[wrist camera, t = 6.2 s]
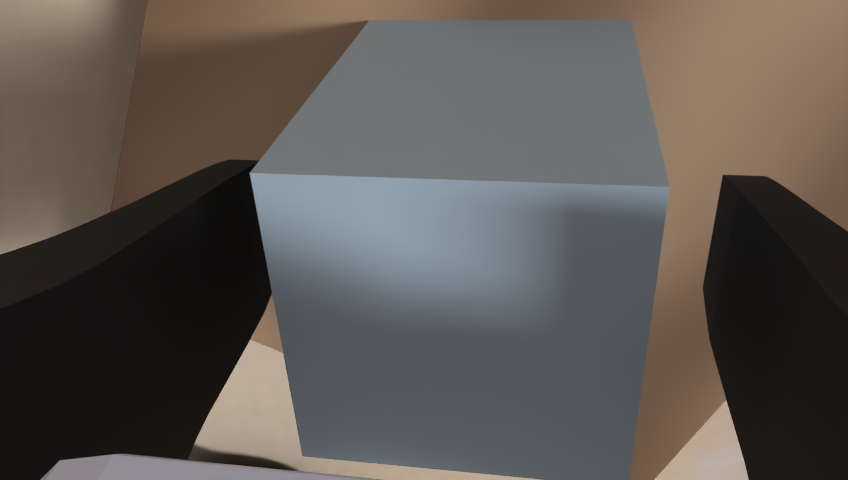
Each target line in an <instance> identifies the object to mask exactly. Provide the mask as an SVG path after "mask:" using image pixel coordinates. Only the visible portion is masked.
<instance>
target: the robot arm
mask: <svg viewBox="0 0 848 480" xmlns="http://www.w3.org/2000/svg"><path fill="white" fill-rule="evenodd" d="M258 162H259V160H231V159H229V160H225V161H222V162H219V163H216V164H213V165H211V166H209V167H206V168H204V169H202V170H199V171H197V172H195V173H193V174H191V175H188V176H186V177H184V178H182V179H180V180H178V181H176V182H174V183H172V184H170V185H168V186H165V187H163V188H161V189H159V190H157V191H155V192H153V193H151V194H149V195H147V196H145V197H143V198H141V199H139V200H137V201H134V202H132V203H130V204H128V205H126V206H124V207H121V208H119V209H117V210H115V211H112V212H110V213H108V214H106V215H103V216H101V217H99V218H97V219H94V220H92V221H90V222H87V223H85V224H83V225H81V226H78V227H76V228H74V229H71V230H69V231H66V232H64V233H61V234H58V235H56V236H53V237H51V238H48V239H45V240H42V241H40V242H37V243H34V244H31V245H28V246H25V247H22V248H19V249H16V250H14V251H10V252H7V253H4V254H1V255H0V480H380V479H371V478H361V477H351V476H341V475H331V474H321V473H311V472H301V471H291V470H281V469H271V468H261V467H251V466H241V465H231V464H221V463H211V462H201V461H191V460H188V458H189V455H190V453H191V450H192V448H193V446H194V443H195V441H196V438H197V436H198V434H199V432H200V430H201V428H202V426H203V424H204V422H205V420H206V418H207V416H208V414H209V412H210V410H211V408H212V407H213V405H214V403H215V401H216V400H217V398H218V396H219V394H220V392H221V391H222V389H223V387H224V385H225V383H226V382H227V380H228V378H229V376H230V375H231V373H232V371H233V369H234V367H235V366H236V364H237V362H238V360H239V358H240V357H241V355H242V353H243V351H244V350H245V348H246V346H247V344H248V342H249V340H250V339H251V337H252V335H253V333H254V331H255V329H256V328H257V326H258V324H259V322H260V320H261V318H262V316H263V314H264V313H265V310H266V308H267V305H268V302H269V300H270V297H271V295H272V290H271V284H270V279H269V274H268V268H267V263H266V258H265V252H264V247H263V242H262V236H261V231H260V225H259V220H258V215H257V209H256V204H255V199H254V193H253V188H252V183H251V177H250V172H251V171H252V169H253V168H254V167H255V166H256V164H257V163H258ZM703 294H704V303H705V311H706V319H707V326H708V333H709V340H710V344H711V348H712V351H713V355H714V359H715V362H716V366H717V369H718V373H719V376H720V380H721V383H722V386H723V390H724V393H725V397H726V400H727V403H728V407H729V410H730V414H731V417H732V420H733V424H734V427H735V431H736V434H737V437H738V441H739V444H740V447H741V451H742V454H743V458H744V461H745V465H746V469H747V474H748V478H749V480H848V231H846V230H845V229H843V228H842V227H841V226H839V225H838V224H836V223H835V222H833V221H832V220H830V219H829V218H828V217H826V216H825V215H823V214H822V213H821V212H819V211H818V210H816V209H815V208H814V207H812V206H811V205H809V204H808V203H807V202H805V201H804V200H802V199H801V198H800V197H798V196H797V195H795V194H794V193H792V192H791V191H790V190H788V189H787V188H785V187H784V186H782V185H781V184H779V183H778V182H776V181H774V180H773V179H771V178H769V177H767V176H748V175H723V176H722V182H721V188H720V193H719V199H718V204H717V210H716V216H715V221H714V227H713V232H712V238H711V244H710V249H709V255H708V260H707V266H706V272H705V277H704V283H703Z"/></svg>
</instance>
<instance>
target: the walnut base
mask: <svg viewBox="0 0 848 480" xmlns="http://www.w3.org/2000/svg"><path fill="white" fill-rule="evenodd" d="M369 20H631V22H632V26H633V31H634V35H635V39H636V44H637V48H638V52H639V57H640V61H641V65H642V70H643V74H644V78H645V83H646V87H647V91H648V95H649V100H650V104H651V108H652V113H653V117H654V121H655V126H656V130H657V134H658V139H659V143H660V147H661V152H662V156H663V160H664V164H665V169H666V173H667V177H668V182H669V186H670V189H669V196H668V203H667V210H666V218H665V225H664V232H663V239H662V246H661V253H660V261H659V268H658V275H657V282H656V289H655V297H654V304H653V311H652V318H651V325H650V333H649V340H648V347H647V354H646V361H645V369H644V376H643V383H642V390H641V397H640V405H639V412H638V419H637V426H636V433H635V441H634V448H633V455H632V462H631V469H630V477H629V480H654V479H655V478H656V477H657V476H658V475H659V473H660V472H661V471H662V470H663V469H664V468H665V467H666V466H667V465H668V463H669V462H670V461H671V460H672V459H673V458H674V457H675V456H676V455H677V453H678V452H679V451H680V450H681V449H682V448H683V447H684V446H685V445H686V443H687V442H688V441H689V440H690V439H691V438H692V437H693V436H694V435H695V433H696V432H697V431H698V430H699V429H700V428H701V427H702V426H703V425H704V423H705V422H706V421H707V420H708V419H709V418H710V417H711V416H712V415H713V413H714V412H715V411H716V410H717V409H718V408H719V407H720V406H721V405H722V404H723V402H724V401H725V400H726V397H725V393H724V390H723V386H722V383H721V380H720V376H719V373H718V369H717V366H716V362H715V359H714V355H713V351H712V348H711V344H710V340H709V333H708V326H707V319H706V311H705V303H704V294H703V283H704V277H705V272H706V266H707V260H708V255H709V249H710V244H711V238H712V232H713V227H714V221H715V216H716V210H717V204H718V199H719V193H720V188H721V182H722V176H723V175H748V176H767V177H769V178H771V179H773V180H774V181H776V182H778V183H779V184H781V185H782V186H784V187H785V188H787V189H788V190H790V191H791V192H792V193H794V194H795V195H797V196H798V197H800V198H801V199H802V200H804V201H805V202H807V203H808V204H809V205H811V206H812V207H814V208H815V209H816V210H818V211H819V212H821V213H822V214H823V215H825V216H826V217H828V218H829V219H830V220H832V221H833V222H835V223H836V224H838V225H839V226H841V227H842V228H843V229H845V230H846V231H848V0H148V1H147V6H146V12H145V18H144V24H143V29H142V35H141V41H140V47H139V52H138V58H137V64H136V70H135V75H134V81H133V87H132V92H131V98H130V104H129V110H128V115H127V121H126V127H125V133H124V138H123V144H122V150H121V156H120V161H119V167H118V173H117V179H116V184H115V190H114V196H113V201H112V207H111V212H112V211H115V210H117V209H119V208H121V207H124V206H126V205H128V204H130V203H132V202H134V201H137V200H139V199H141V198H143V197H145V196H147V195H149V194H151V193H153V192H155V191H157V190H159V189H161V188H163V187H165V186H168V185H170V184H172V183H174V182H176V181H178V180H180V179H182V178H184V177H186V176H188V175H191V174H193V173H195V172H197V171H199V170H202V169H204V168H206V167H209V166H211V165H213V164H216V163H219V162H222V161H225V160H229V159H231V160H260V159H261V158H262V157H263V155H264V154H265V153H266V152H267V150H268V149H269V148H270V146H271V145H272V144H273V143H274V141H275V140H276V139H277V138H278V136H279V135H280V134H281V132H282V131H283V130H284V129H285V127H286V126H287V125H288V124H289V122H290V121H291V120H292V118H293V117H294V116H295V115H296V113H297V112H298V111H299V110H300V108H301V107H302V106H303V104H304V103H305V102H306V101H307V99H308V98H309V97H310V96H311V94H312V93H313V92H314V90H315V89H316V88H317V87H318V85H319V84H320V83H321V81H322V80H323V79H324V78H325V76H326V75H327V74H328V73H329V71H330V70H331V69H332V67H333V66H334V65H335V64H336V62H337V61H338V60H339V59H340V57H341V56H342V55H343V53H344V52H345V51H346V50H347V48H348V47H349V46H350V45H351V43H352V42H353V41H354V39H355V38H356V37H357V36H358V34H359V33H360V32H361V31H362V29H363V28H364V27H365V25H366V24H367V23H368V22H369ZM251 340H253V341H256V342H258V343H261V344H263V345H266V346H268V347H271V348H273V349H276V350H278V351H280V352H283V349H282V343H281V338H280V332H279V327H278V322H277V316H276V311H275V306H274V300H273V295H271V297H270V300H269V302H268V305H267V308H266V310H265V313H264V314H263V316H262V318H261V320H260V322H259V324H258V326H257V328H256V329H255V331H254V333H253V335H252V337H251Z"/></svg>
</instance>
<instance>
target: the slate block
mask: <svg viewBox="0 0 848 480" xmlns="http://www.w3.org/2000/svg"><path fill="white" fill-rule="evenodd" d="M250 177H251V183H252V188H253V193H254V199H255V204H256V209H257V215H258V220H259V225H260V231H261V236H262V242H263V247H264V252H265V258H266V263H267V268H268V274H269V279H270V284H271V290H272V295H273V300H274V306H275V311H276V316H277V322H278V327H279V332H280V338H281V343H282V349H283V354H284V359H285V365H286V370H287V375H288V381H289V386H290V391H291V397H292V402H293V407H294V413H295V418H296V423H297V429H298V434H299V439H300V445H301V450H302V456H305V457H316V458H326V459H337V460H347V461H357V462H368V463H378V464H389V465H399V466H409V467H420V468H430V469H440V470H451V471H461V472H472V473H482V474H492V475H503V476H513V477H524V478H534V479H544V480H629V477H630V469H631V462H632V455H633V448H634V441H635V433H636V426H637V419H638V412H639V405H640V397H641V390H642V383H643V376H644V369H645V361H646V354H647V347H648V340H649V333H650V325H651V318H652V311H653V304H654V297H655V289H656V282H657V275H658V268H659V261H660V253H661V246H662V239H663V232H664V225H665V218H666V210H667V203H668V196H669V189H670V186H669V182H668V177H667V173H666V169H665V164H664V160H663V156H662V152H661V147H660V143H659V139H658V134H657V130H656V126H655V121H654V117H653V113H652V108H651V104H650V100H649V95H648V91H647V87H646V83H645V78H644V74H643V70H642V65H641V61H640V57H639V52H638V48H637V44H636V39H635V35H634V31H633V26H632V22H631V20H369V22H368V23H367V24H366V25H365V27H364V28H363V29H362V31H361V32H360V33H359V34H358V36H357V37H356V38H355V39H354V41H353V42H352V43H351V45H350V46H349V47H348V48H347V50H346V51H345V52H344V53H343V55H342V56H341V57H340V59H339V60H338V61H337V62H336V64H335V65H334V66H333V67H332V69H331V70H330V71H329V73H328V74H327V75H326V76H325V78H324V79H323V80H322V81H321V83H320V84H319V85H318V87H317V88H316V89H315V90H314V92H313V93H312V94H311V96H310V97H309V98H308V99H307V101H306V102H305V103H304V104H303V106H302V107H301V108H300V110H299V111H298V112H297V113H296V115H295V116H294V117H293V118H292V120H291V121H290V122H289V124H288V125H287V126H286V127H285V129H284V130H283V131H282V132H281V134H280V135H279V136H278V138H277V139H276V140H275V141H274V143H273V144H272V145H271V146H270V148H269V149H268V150H267V152H266V153H265V154H264V155H263V157H262V158H261V159H260V160H259V162H258V163H257V164H256V166H255V167H254V168H253V169H252V171H251V172H250Z"/></svg>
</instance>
